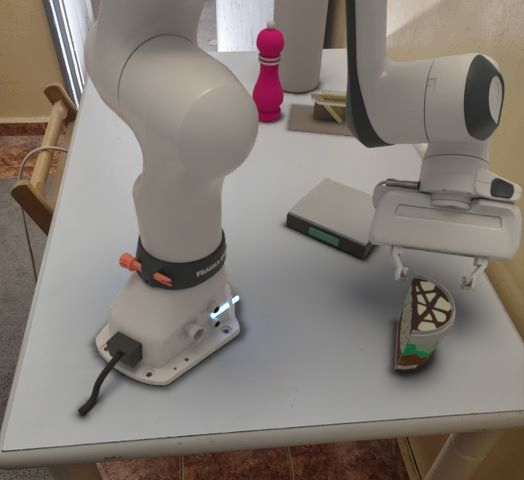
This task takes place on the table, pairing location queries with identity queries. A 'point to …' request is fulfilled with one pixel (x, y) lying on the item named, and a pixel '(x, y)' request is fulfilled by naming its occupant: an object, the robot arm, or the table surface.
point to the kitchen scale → (335, 217)
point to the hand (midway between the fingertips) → (433, 285)
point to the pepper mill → (269, 74)
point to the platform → (322, 115)
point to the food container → (422, 322)
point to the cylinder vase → (300, 42)
